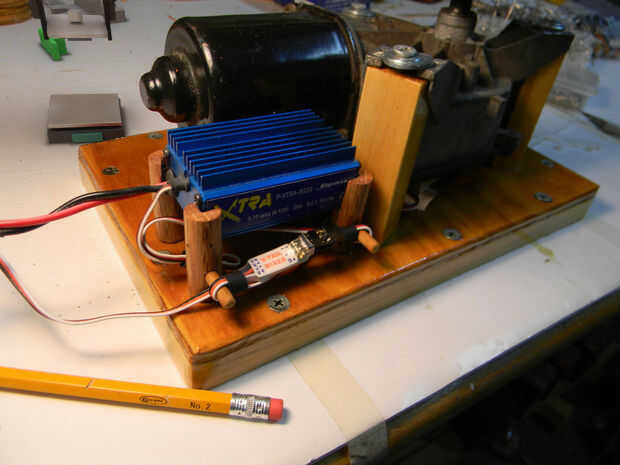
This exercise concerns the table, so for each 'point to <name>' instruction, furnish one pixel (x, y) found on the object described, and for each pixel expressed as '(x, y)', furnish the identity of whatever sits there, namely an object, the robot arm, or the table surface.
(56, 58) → the pipe clamp
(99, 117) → the scale pan
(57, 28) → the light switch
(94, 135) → the kitchen scale
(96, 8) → the bracket
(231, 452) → the table surface
